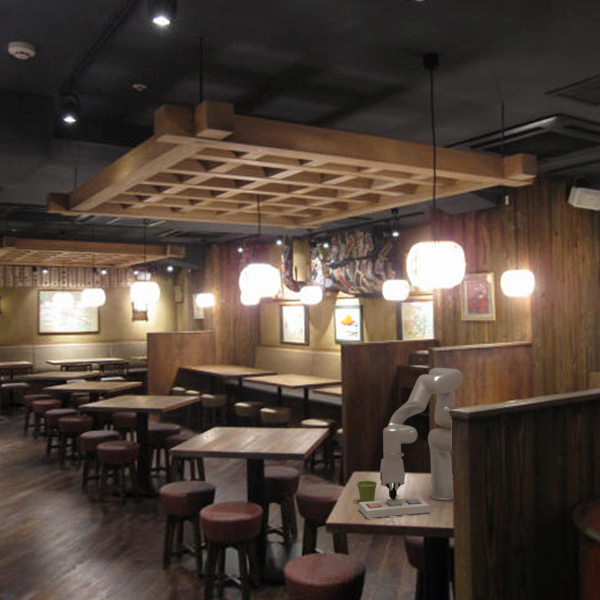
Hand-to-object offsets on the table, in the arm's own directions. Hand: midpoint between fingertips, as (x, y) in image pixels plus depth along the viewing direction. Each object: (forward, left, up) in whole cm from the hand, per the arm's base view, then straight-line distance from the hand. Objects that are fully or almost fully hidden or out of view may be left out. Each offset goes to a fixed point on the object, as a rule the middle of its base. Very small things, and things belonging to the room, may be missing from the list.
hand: (392, 498), depth 260 cm
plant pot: (+7, -16, -6) cm, 18 cm away
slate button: (-9, 0, -5) cm, 11 cm away
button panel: (0, 0, -6) cm, 6 cm away
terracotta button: (+9, 0, -5) cm, 10 cm away
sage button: (0, 0, -4) cm, 4 cm away
